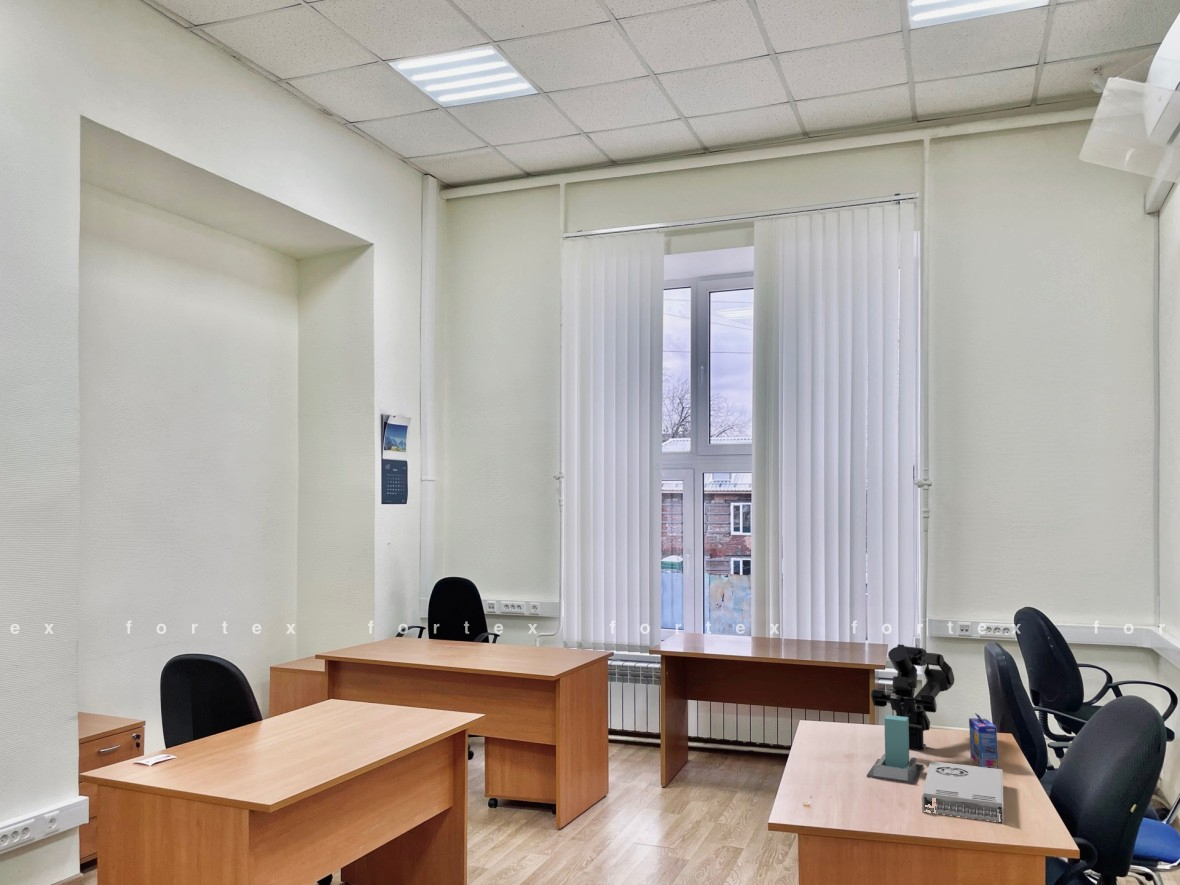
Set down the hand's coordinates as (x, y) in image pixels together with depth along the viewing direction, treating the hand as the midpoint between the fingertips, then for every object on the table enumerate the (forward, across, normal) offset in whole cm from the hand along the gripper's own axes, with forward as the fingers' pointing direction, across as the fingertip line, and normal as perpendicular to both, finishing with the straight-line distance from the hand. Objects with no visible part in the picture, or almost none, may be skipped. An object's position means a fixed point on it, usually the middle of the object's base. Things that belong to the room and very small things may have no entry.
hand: (900, 724), depth 272 cm
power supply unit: (+28, +21, -11) cm, 37 cm away
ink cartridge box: (+1, +22, +15) cm, 27 cm away
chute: (+16, +1, -1) cm, 17 cm away
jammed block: (+14, +1, +1) cm, 14 cm away
